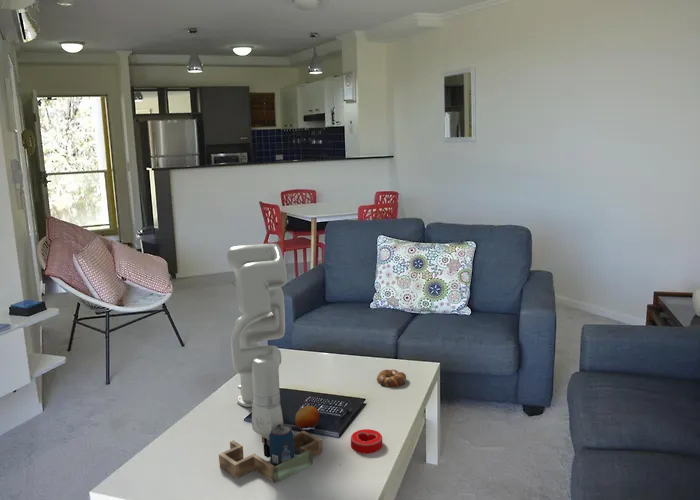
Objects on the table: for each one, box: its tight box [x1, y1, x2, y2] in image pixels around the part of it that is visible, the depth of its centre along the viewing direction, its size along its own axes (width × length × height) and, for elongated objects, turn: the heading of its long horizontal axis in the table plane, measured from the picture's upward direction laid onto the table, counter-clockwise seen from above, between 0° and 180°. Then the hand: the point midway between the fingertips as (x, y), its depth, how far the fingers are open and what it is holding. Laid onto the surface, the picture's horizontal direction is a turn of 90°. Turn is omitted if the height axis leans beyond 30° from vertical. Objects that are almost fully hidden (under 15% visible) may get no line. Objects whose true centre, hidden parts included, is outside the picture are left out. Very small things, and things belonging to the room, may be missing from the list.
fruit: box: [294, 405, 320, 430], centre depth 200 cm, size 8×8×8 cm
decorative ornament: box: [350, 428, 383, 455], centre depth 189 cm, size 10×10×3 cm
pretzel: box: [376, 369, 407, 388], centre depth 234 cm, size 12×11×4 cm
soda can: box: [269, 423, 296, 466], centre depth 177 cm, size 7×7×12 cm
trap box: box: [218, 430, 323, 484], centre depth 182 cm, size 22×26×4 cm
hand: (270, 454), depth 182 cm, fingers closed
